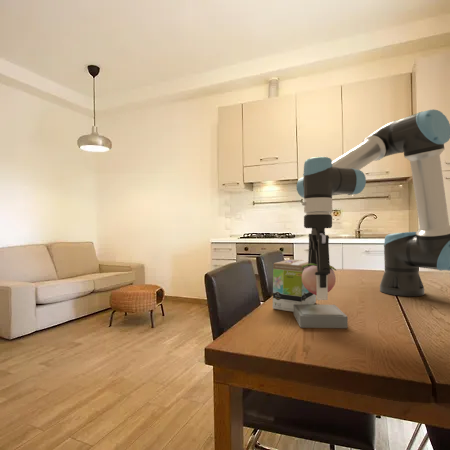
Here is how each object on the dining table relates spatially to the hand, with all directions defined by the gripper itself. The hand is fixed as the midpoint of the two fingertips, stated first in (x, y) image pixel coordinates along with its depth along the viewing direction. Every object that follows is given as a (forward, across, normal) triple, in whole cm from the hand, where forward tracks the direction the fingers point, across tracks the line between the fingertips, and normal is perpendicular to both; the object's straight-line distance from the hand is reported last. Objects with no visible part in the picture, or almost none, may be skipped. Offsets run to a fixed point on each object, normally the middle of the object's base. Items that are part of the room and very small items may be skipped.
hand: (318, 295), depth 88 cm
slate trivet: (+7, 0, 0) cm, 7 cm away
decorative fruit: (0, 0, 0) cm, 0 cm away
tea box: (+7, -16, -4) cm, 18 cm away
